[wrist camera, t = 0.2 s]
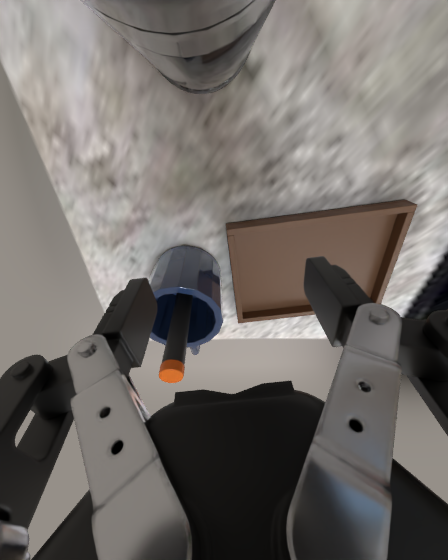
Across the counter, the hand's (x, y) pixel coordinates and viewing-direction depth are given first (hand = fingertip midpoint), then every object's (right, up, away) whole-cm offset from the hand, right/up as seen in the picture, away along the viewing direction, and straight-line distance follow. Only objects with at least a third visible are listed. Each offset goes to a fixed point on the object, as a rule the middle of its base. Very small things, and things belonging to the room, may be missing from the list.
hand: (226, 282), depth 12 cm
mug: (-5, -1, +22) cm, 22 cm away
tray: (+12, +2, +20) cm, 24 cm away
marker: (-5, +1, +20) cm, 21 cm away
